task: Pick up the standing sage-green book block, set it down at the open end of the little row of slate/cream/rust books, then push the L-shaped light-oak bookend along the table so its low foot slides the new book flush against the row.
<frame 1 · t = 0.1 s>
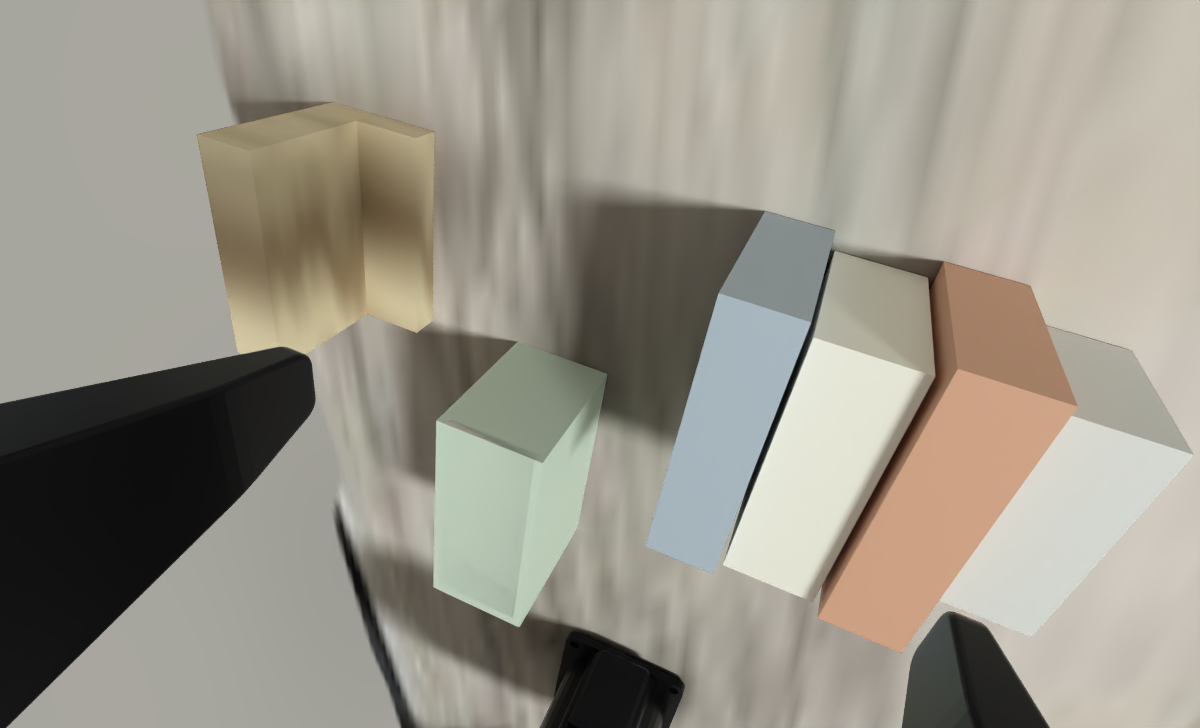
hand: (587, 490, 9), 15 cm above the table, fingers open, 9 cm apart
book row: (841, 369, 22), on the table
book: (550, 440, 29), on the table
bookend: (361, 210, 27), on the table
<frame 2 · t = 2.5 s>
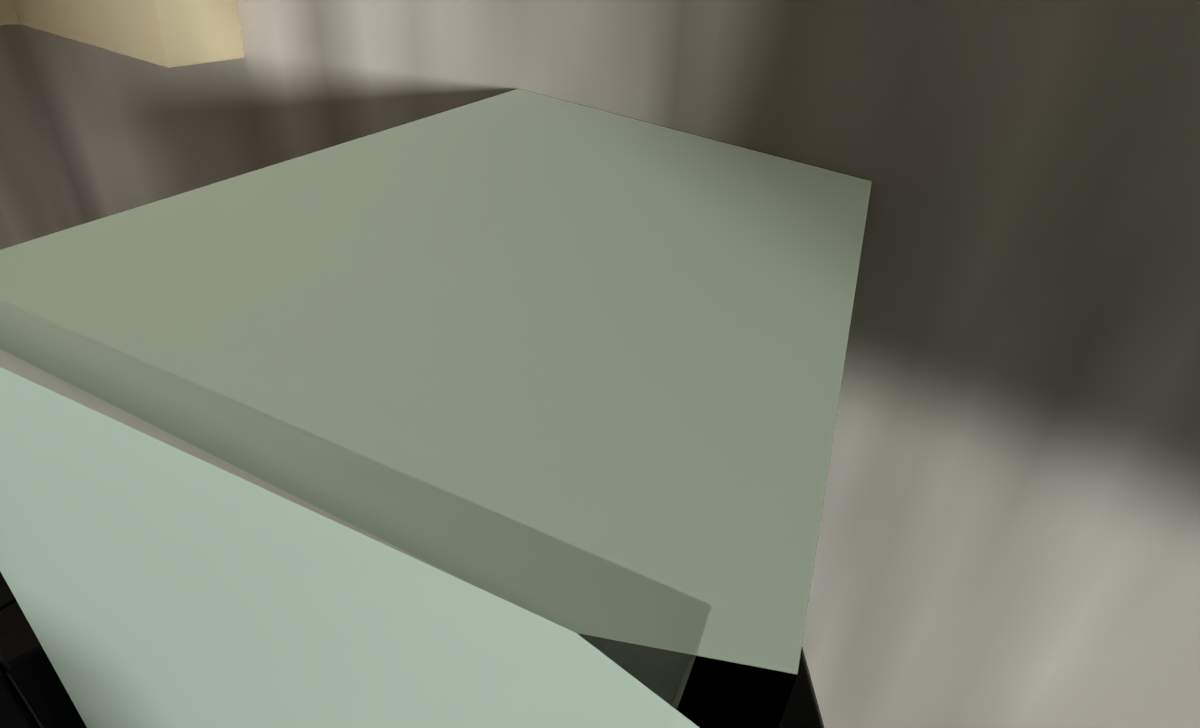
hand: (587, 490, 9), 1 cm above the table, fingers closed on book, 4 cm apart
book: (614, 444, 10), on the table, touching gripper
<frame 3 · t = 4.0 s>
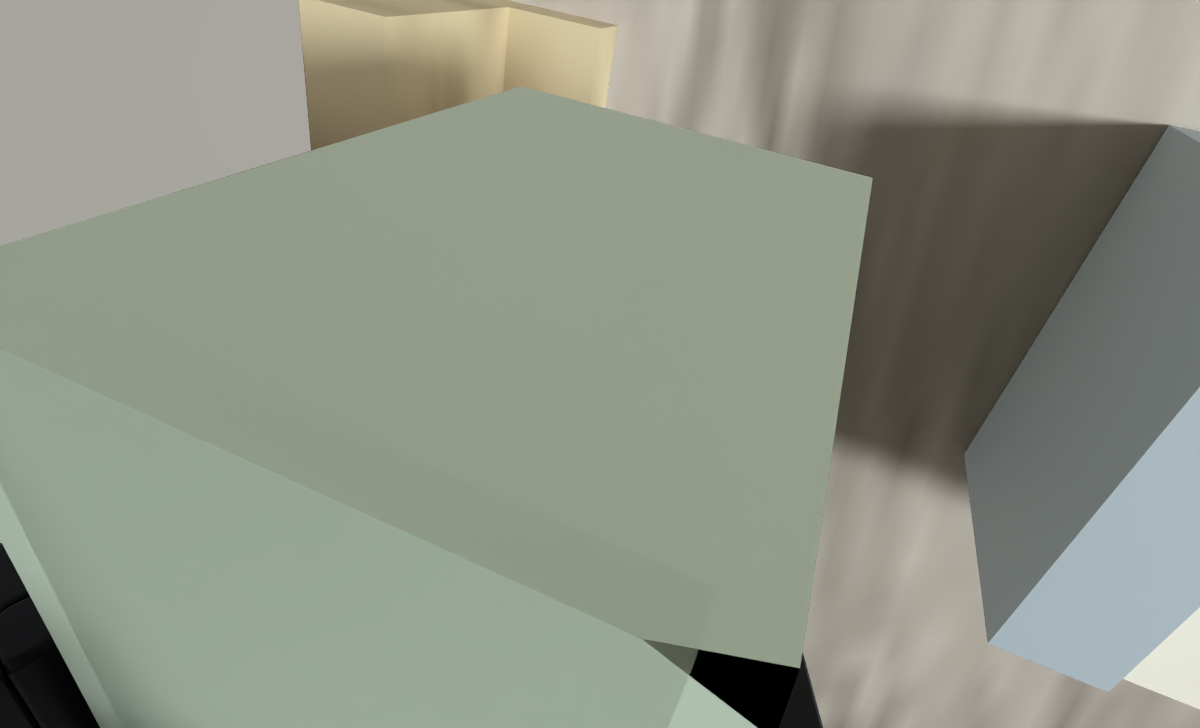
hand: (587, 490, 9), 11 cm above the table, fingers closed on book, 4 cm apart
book: (616, 441, 10), point 10 cm above the table, touching gripper
bookend: (487, 149, 20), on the table
when the fingers open (2 cm above the table, at t = 5.9 s): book stays where it is, on the table.
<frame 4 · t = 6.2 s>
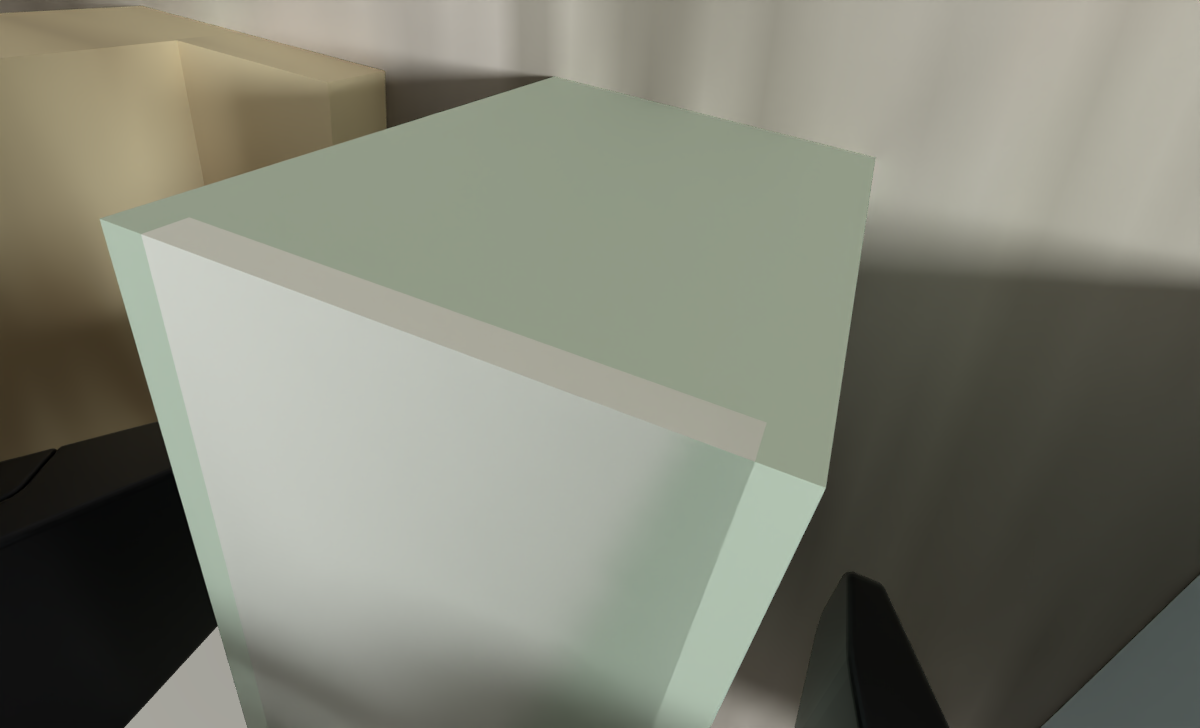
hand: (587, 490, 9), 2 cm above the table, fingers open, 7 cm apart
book: (638, 404, 10), on the table
bookend: (236, 257, 12), on the table
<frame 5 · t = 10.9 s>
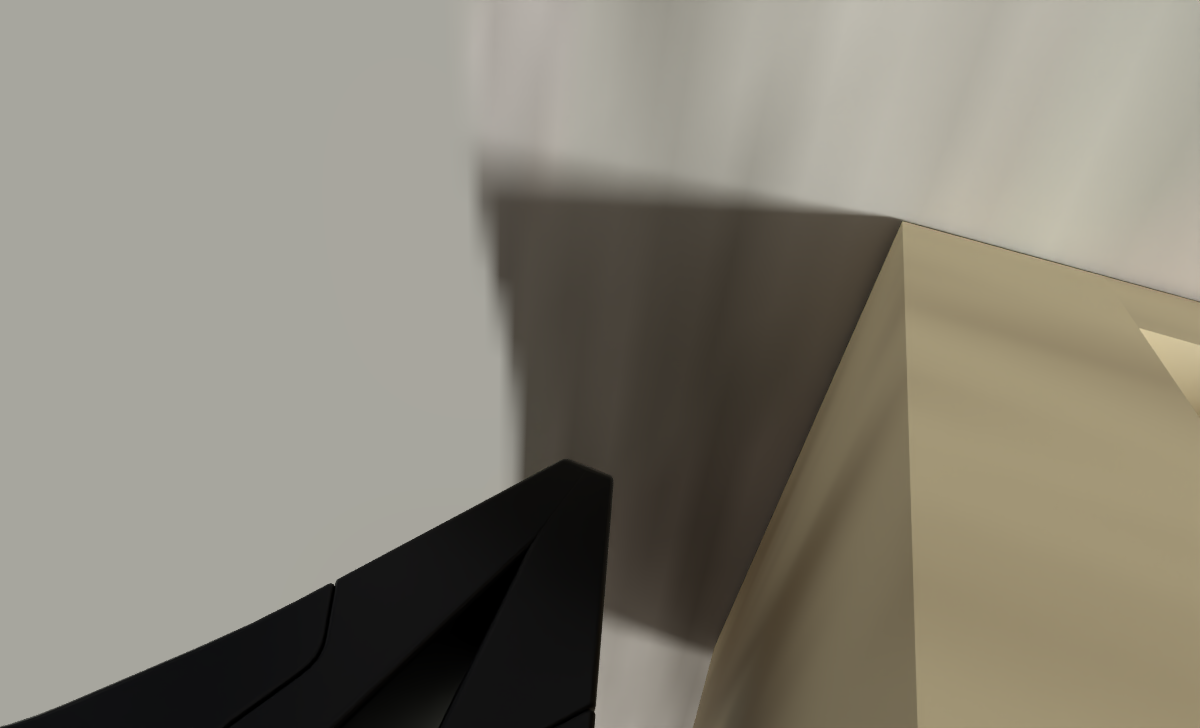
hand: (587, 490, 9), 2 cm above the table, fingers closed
bookend: (856, 511, 9), on the table, touching gripper
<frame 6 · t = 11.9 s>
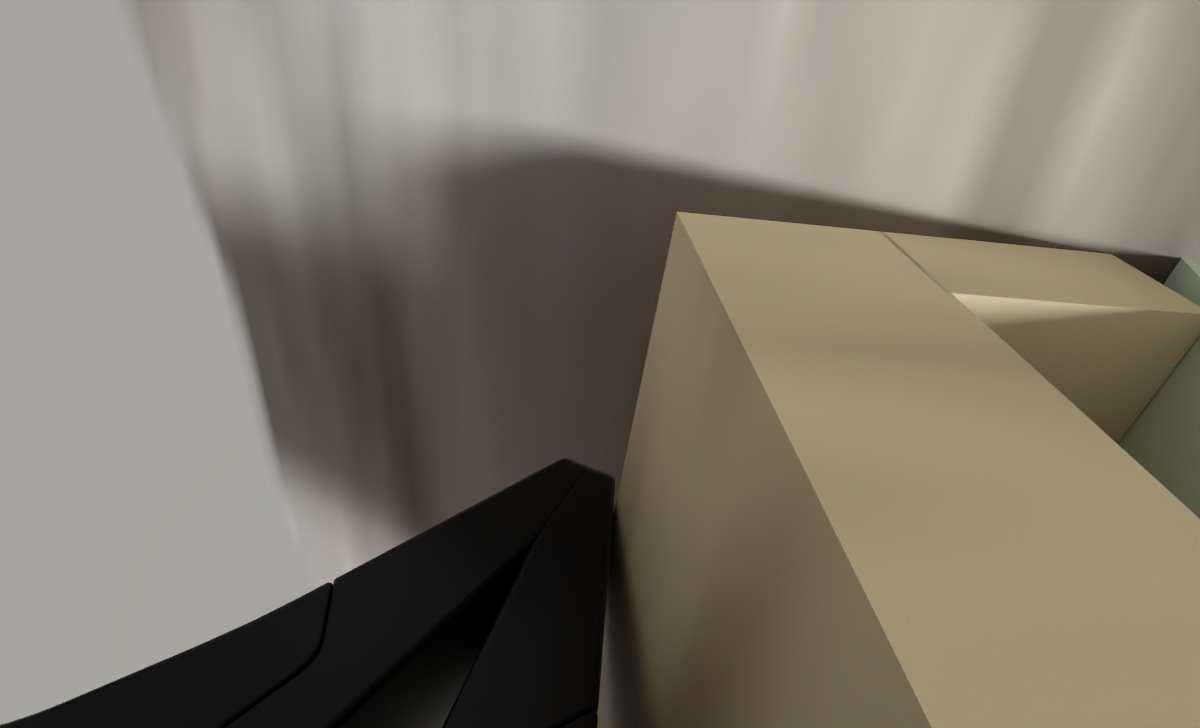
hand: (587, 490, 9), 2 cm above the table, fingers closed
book: (1138, 622, 8), on the table
bookend: (690, 523, 8), point 2 cm above the table, tilted 27°, touching gripper
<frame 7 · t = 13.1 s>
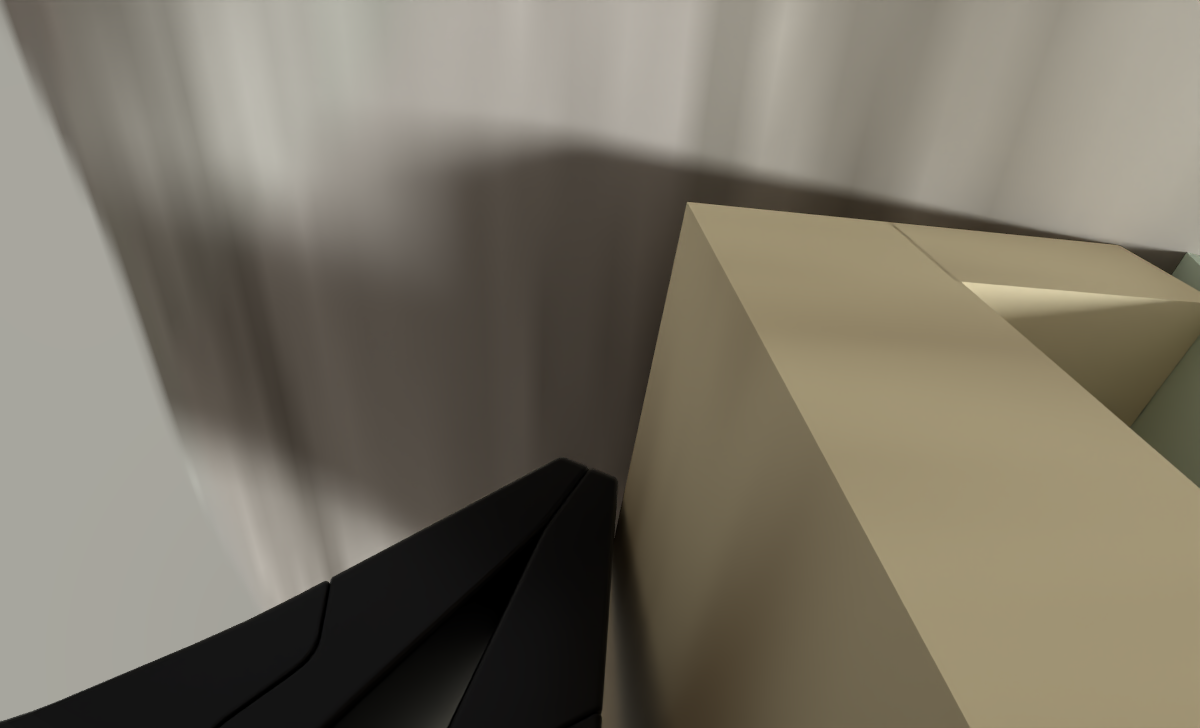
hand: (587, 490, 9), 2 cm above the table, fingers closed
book: (1141, 612, 8), on the table
bookend: (698, 514, 8), point 2 cm above the table, tilted 27°, touching gripper
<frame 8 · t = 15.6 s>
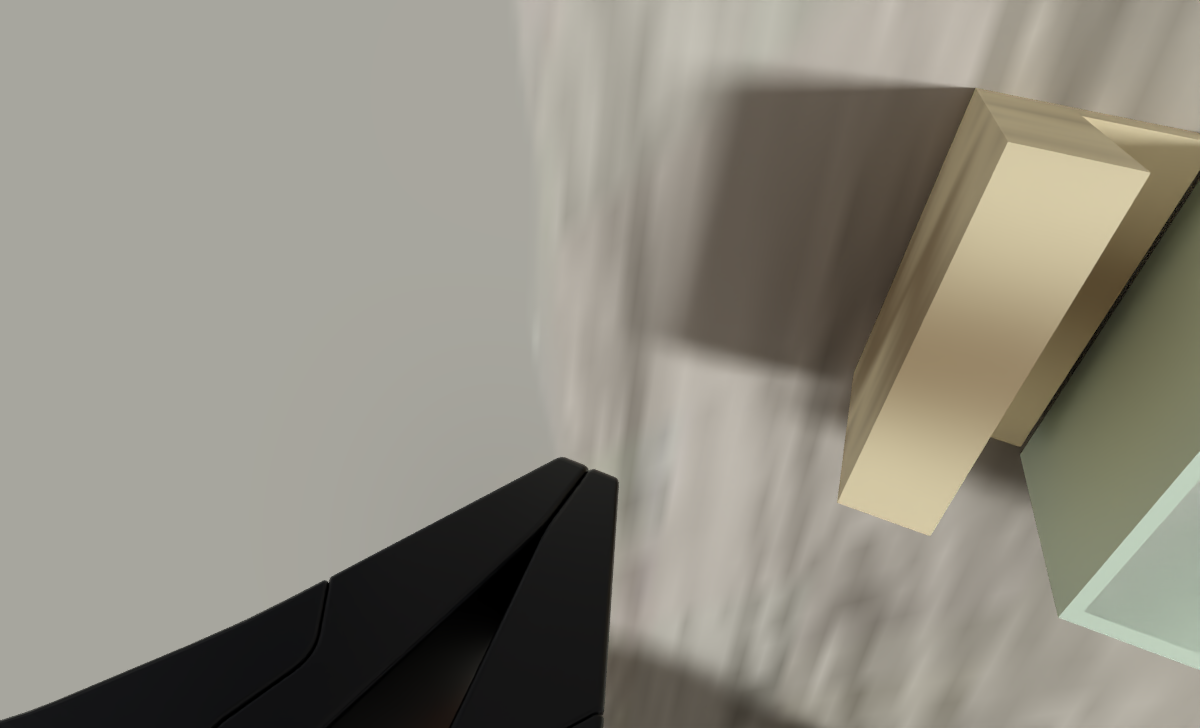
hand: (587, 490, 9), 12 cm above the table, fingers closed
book: (1199, 342, 16), on the table
bookend: (946, 258, 17), on the table
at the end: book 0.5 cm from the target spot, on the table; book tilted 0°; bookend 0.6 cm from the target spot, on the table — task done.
